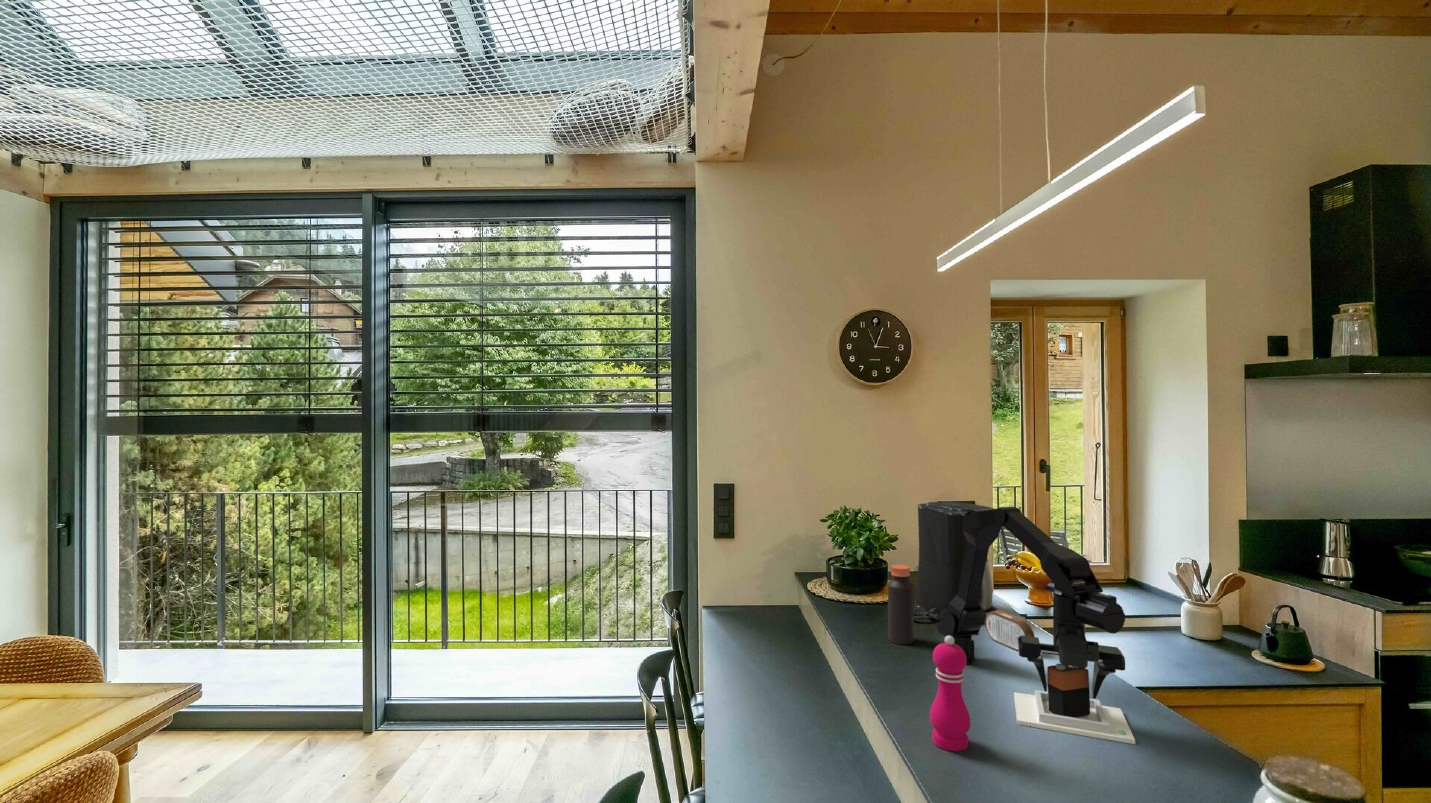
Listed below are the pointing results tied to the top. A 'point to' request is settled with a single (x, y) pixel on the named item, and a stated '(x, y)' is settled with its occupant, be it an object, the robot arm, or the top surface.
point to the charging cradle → (1097, 724)
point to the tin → (1007, 628)
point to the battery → (1068, 690)
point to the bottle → (900, 606)
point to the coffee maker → (944, 559)
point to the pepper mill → (949, 698)
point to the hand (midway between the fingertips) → (1069, 694)
